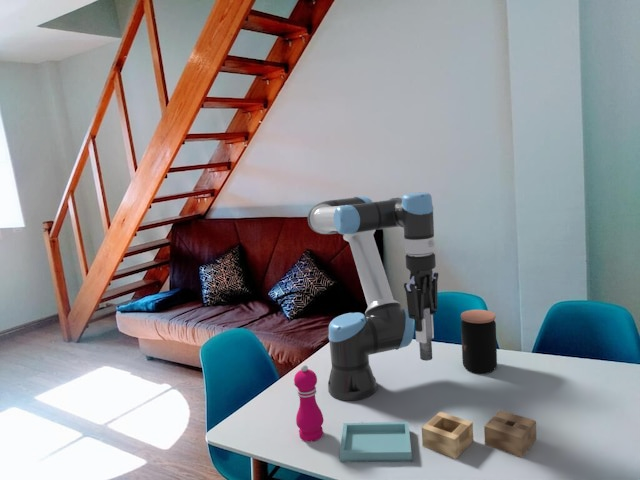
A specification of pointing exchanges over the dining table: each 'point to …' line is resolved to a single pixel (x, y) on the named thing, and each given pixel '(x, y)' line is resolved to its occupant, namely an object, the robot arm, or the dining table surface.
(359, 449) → the teal tray
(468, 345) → the coffee jar
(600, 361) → the dining table surface
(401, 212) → the robot arm
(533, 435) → the walnut block narrow bore
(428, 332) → the cylinder
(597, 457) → the dining table surface
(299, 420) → the pepper mill
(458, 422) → the oak block wide bore
